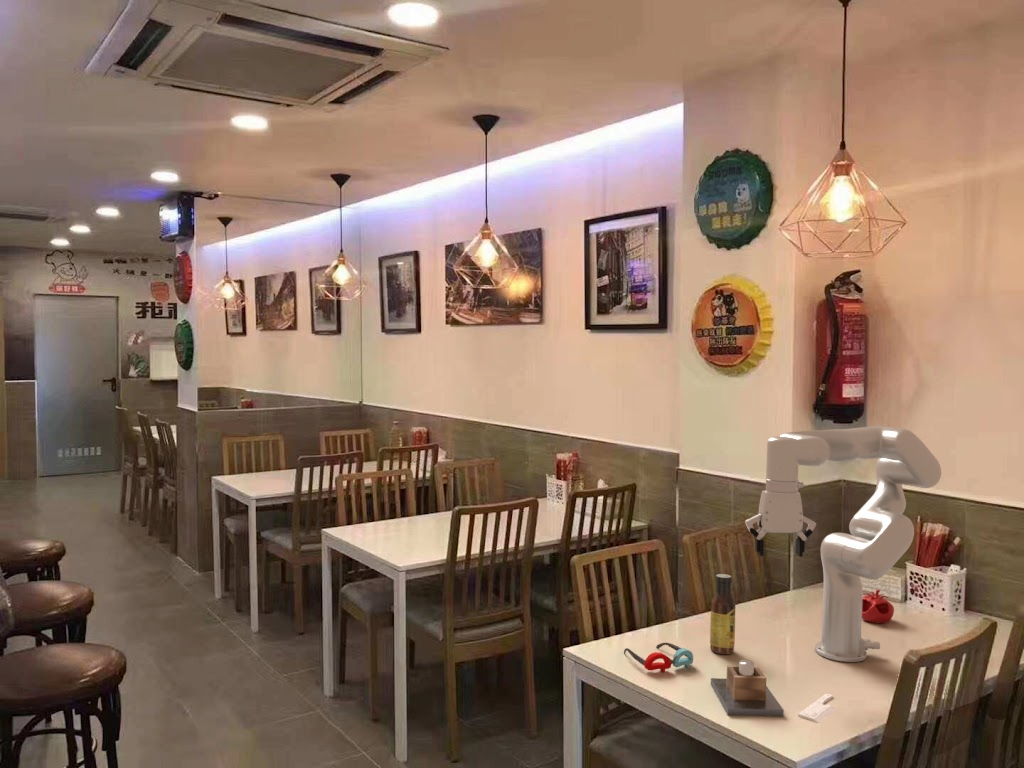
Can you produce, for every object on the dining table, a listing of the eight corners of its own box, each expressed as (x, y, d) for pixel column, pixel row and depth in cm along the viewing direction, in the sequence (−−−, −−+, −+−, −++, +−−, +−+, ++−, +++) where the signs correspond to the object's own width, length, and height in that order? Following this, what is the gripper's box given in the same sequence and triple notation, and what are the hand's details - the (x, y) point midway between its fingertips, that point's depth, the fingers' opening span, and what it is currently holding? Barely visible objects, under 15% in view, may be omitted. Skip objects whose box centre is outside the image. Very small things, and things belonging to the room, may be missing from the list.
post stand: (761, 685, 190) (762, 650, 190) (783, 716, 174) (784, 677, 174) (710, 684, 190) (711, 648, 190) (727, 715, 174) (728, 676, 174)
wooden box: (756, 687, 186) (757, 665, 185) (765, 700, 179) (766, 678, 178) (726, 686, 186) (726, 665, 185) (734, 699, 179) (734, 677, 178)
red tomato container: (861, 613, 246) (861, 583, 246) (896, 619, 240) (897, 588, 240) (853, 621, 238) (854, 589, 238) (889, 628, 232) (890, 595, 232)
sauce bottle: (735, 656, 208) (737, 580, 207) (710, 654, 209) (712, 578, 209) (733, 647, 215) (735, 573, 214) (709, 645, 216) (711, 571, 215)
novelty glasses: (649, 677, 195) (649, 656, 195) (617, 655, 208) (617, 636, 208) (696, 669, 200) (697, 649, 200) (662, 648, 214) (663, 630, 214)
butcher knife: (848, 703, 182) (848, 699, 182) (820, 725, 171) (820, 720, 171) (825, 696, 185) (826, 692, 185) (797, 717, 175) (797, 712, 175)
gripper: (811, 484, 204) (809, 551, 204) (742, 483, 204) (740, 550, 205) (822, 490, 196) (819, 559, 197) (750, 488, 196) (748, 558, 197)
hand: (779, 554), depth 201 cm, fingers open, 9 cm apart
